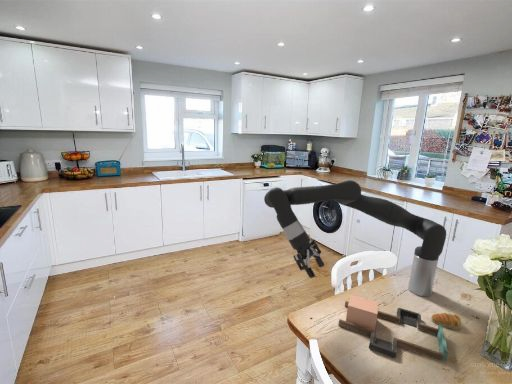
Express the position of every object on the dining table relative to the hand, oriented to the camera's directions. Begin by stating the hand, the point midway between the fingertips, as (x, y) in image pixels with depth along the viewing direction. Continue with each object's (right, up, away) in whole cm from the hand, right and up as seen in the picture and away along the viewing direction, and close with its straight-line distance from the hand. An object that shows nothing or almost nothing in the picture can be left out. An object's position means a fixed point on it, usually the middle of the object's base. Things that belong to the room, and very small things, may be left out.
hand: (317, 271), depth 105 cm
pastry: (+49, -20, -1) cm, 53 cm away
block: (+16, -18, -1) cm, 24 cm away
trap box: (+24, -19, -5) cm, 31 cm away
